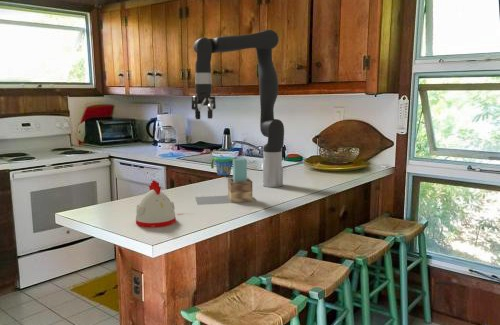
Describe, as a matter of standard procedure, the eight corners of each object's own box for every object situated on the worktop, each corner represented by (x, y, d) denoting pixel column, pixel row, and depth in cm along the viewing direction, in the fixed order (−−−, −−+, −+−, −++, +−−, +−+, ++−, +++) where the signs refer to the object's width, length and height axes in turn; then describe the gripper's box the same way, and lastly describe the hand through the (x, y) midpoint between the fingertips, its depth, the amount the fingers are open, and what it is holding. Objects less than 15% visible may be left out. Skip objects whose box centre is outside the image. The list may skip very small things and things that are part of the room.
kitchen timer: (145, 230, 146) (143, 186, 144) (130, 221, 157) (128, 180, 155) (182, 223, 154) (181, 181, 152) (165, 214, 165) (164, 175, 163)
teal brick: (244, 181, 187) (244, 158, 185) (246, 183, 182) (246, 160, 181) (233, 182, 186) (232, 158, 185) (234, 184, 181) (234, 160, 180)
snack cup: (240, 174, 249) (240, 157, 248) (230, 177, 240) (230, 159, 239) (217, 172, 257) (217, 155, 255) (207, 175, 248) (207, 157, 246)
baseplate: (249, 196, 194) (249, 194, 194) (255, 204, 180) (255, 201, 180) (195, 199, 189) (195, 197, 189) (197, 207, 176) (197, 204, 176)
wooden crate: (248, 196, 190) (248, 177, 189) (252, 201, 181) (252, 181, 180) (228, 197, 188) (227, 178, 187) (231, 202, 180) (230, 182, 179)
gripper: (199, 82, 191) (200, 119, 193) (219, 83, 202) (220, 118, 205) (186, 83, 195) (187, 119, 197) (207, 83, 207) (207, 118, 209)
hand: (204, 118), depth 201 cm, fingers open, 8 cm apart
